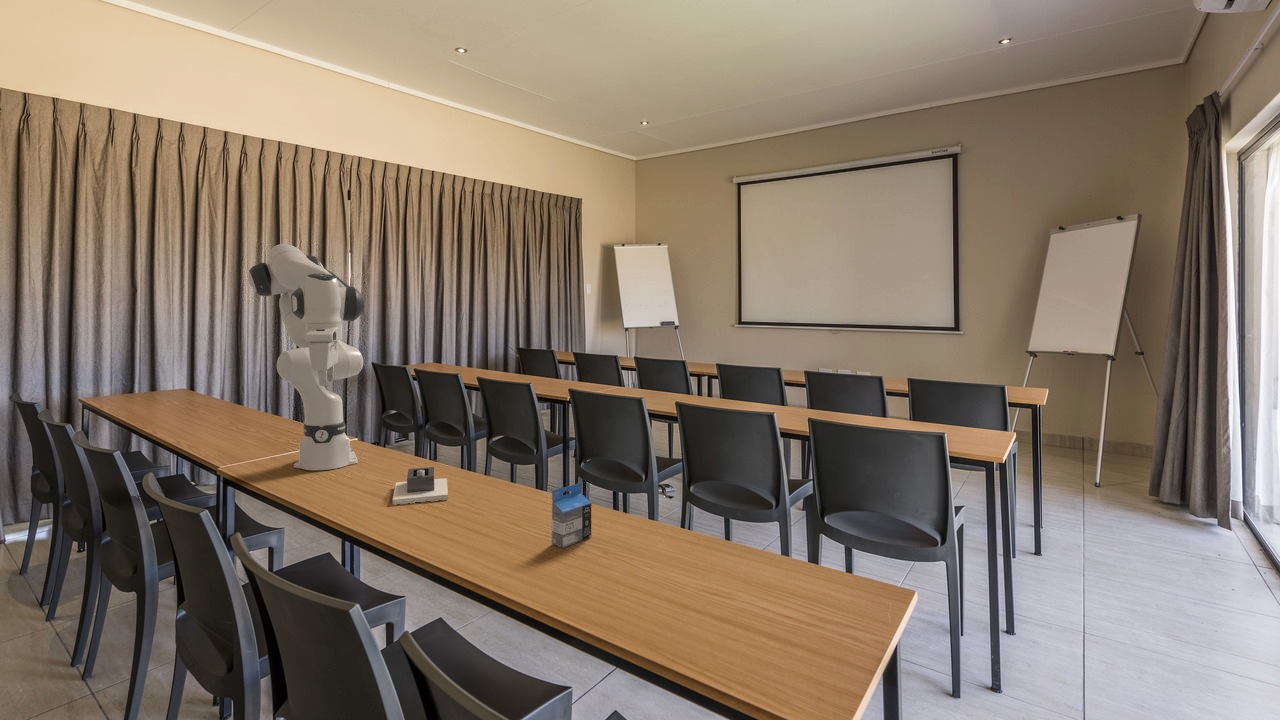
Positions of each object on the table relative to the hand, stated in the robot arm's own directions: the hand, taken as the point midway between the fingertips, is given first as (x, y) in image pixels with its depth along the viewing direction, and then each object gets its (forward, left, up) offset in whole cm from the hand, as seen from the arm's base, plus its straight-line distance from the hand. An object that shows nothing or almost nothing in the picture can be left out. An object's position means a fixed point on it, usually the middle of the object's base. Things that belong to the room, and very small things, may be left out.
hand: (326, 383), depth 167 cm
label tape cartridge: (+54, +57, -31) cm, 85 cm away
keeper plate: (+8, +24, -31) cm, 40 cm away
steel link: (+6, +24, -30) cm, 39 cm away
